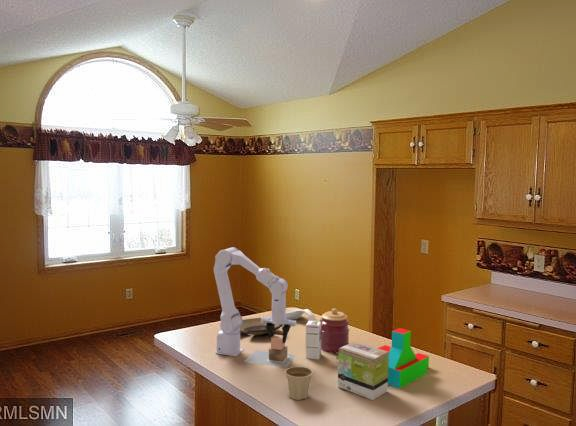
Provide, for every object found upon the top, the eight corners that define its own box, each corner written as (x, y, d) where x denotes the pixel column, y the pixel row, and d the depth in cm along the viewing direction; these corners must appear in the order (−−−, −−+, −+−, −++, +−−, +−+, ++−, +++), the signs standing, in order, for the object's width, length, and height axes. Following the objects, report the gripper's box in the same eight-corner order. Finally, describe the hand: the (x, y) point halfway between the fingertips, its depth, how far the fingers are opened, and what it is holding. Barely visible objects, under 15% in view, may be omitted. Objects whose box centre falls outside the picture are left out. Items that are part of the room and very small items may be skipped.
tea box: (336, 388, 176) (337, 347, 175) (352, 379, 184) (353, 340, 182) (373, 401, 166) (374, 358, 165) (388, 391, 174) (389, 350, 172)
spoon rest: (276, 317, 262) (276, 304, 262) (293, 313, 269) (294, 300, 269) (305, 328, 244) (305, 314, 243) (322, 324, 251) (323, 310, 250)
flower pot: (283, 390, 173) (284, 366, 173) (310, 389, 174) (310, 365, 173) (285, 402, 164) (286, 377, 163) (314, 402, 165) (314, 376, 164)
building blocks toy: (434, 369, 194) (435, 324, 193) (399, 389, 176) (401, 338, 175) (392, 357, 207) (393, 314, 206) (356, 373, 190) (357, 326, 188)
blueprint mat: (243, 362, 198) (243, 361, 198) (255, 350, 212) (255, 350, 212) (286, 368, 193) (286, 367, 193) (296, 355, 207) (296, 354, 207)
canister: (334, 355, 207) (335, 314, 206) (312, 347, 217) (313, 307, 215) (355, 348, 216) (356, 309, 214) (333, 341, 225) (334, 302, 224)
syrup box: (319, 360, 202) (320, 325, 201) (305, 358, 203) (305, 324, 202) (321, 355, 208) (321, 321, 207) (307, 353, 209) (307, 320, 208)
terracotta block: (270, 348, 200) (271, 337, 200) (274, 345, 205) (274, 334, 204) (281, 350, 199) (281, 339, 199) (284, 346, 203) (285, 335, 203)
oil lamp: (258, 345, 219) (258, 328, 219) (215, 330, 240) (215, 314, 239) (292, 333, 236) (292, 317, 235) (249, 320, 256) (249, 305, 255)
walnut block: (268, 360, 201) (268, 349, 200) (273, 354, 206) (273, 344, 206) (282, 361, 199) (283, 350, 199) (287, 356, 205) (287, 345, 204)
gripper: (258, 309, 199) (258, 343, 200) (293, 313, 195) (292, 347, 196) (264, 305, 206) (264, 337, 207) (298, 308, 202) (297, 341, 203)
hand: (278, 341), depth 202 cm, fingers closed on terracotta block, 4 cm apart
